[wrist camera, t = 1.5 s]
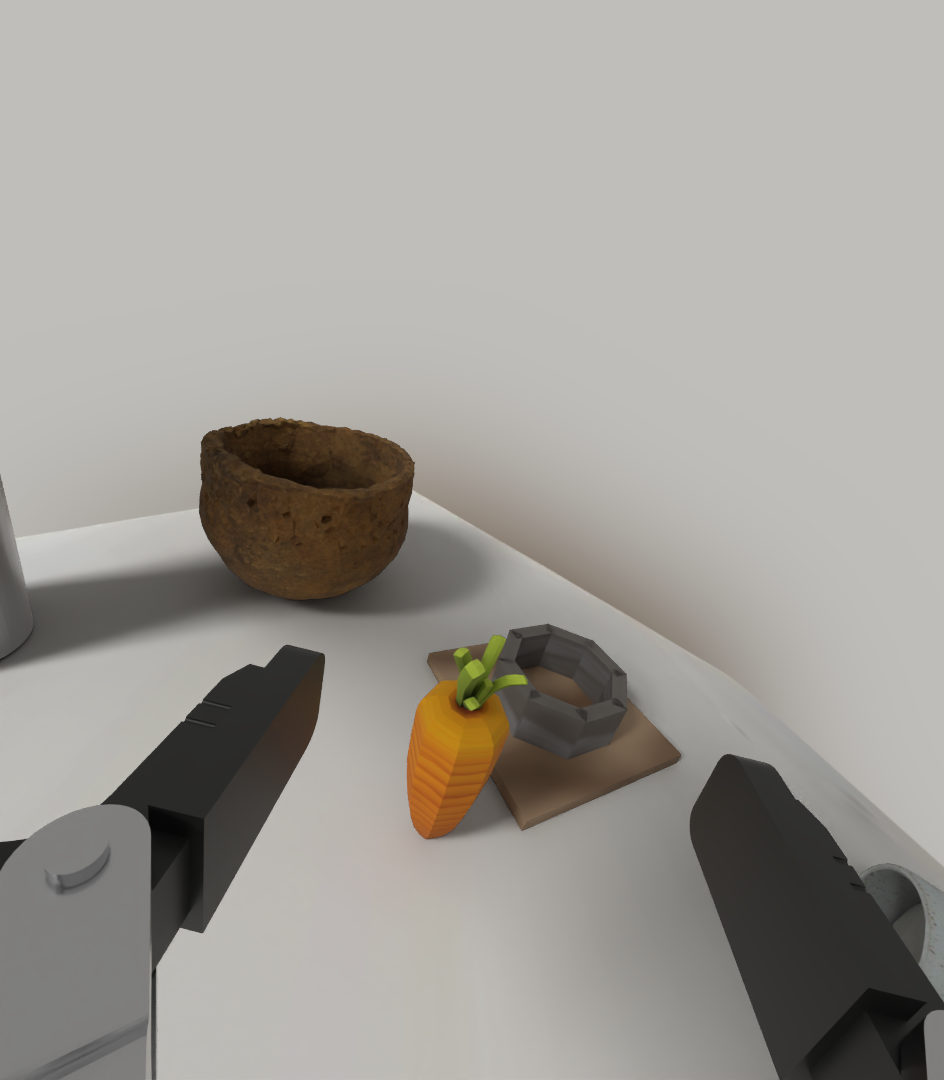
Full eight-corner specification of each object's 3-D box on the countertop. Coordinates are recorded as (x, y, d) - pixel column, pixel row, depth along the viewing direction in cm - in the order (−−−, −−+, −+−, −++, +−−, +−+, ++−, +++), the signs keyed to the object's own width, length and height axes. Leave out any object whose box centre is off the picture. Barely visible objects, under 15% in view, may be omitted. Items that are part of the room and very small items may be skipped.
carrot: (437, 783, 32) (492, 606, 25) (481, 849, 28) (557, 667, 22) (371, 818, 28) (415, 627, 22) (412, 897, 25) (477, 701, 19)
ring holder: (427, 661, 42) (438, 617, 40) (560, 637, 50) (575, 600, 48) (522, 830, 30) (545, 781, 28) (676, 762, 38) (703, 720, 36)
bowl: (199, 655, 36) (193, 480, 30) (202, 538, 51) (199, 403, 44) (419, 630, 45) (452, 492, 39) (370, 537, 60) (388, 425, 53)
